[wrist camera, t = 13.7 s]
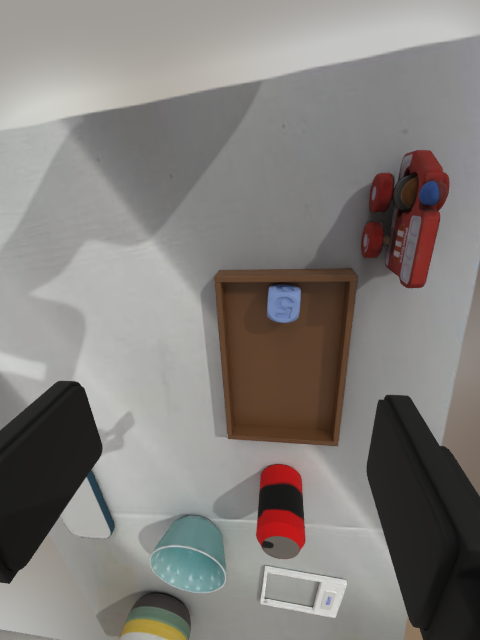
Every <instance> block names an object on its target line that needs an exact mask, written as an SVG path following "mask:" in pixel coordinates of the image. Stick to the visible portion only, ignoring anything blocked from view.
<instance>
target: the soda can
mask: <svg viewBox="0 0 480 640" xmlns="http://www.w3.org/2000/svg"><path fill="white" fill-rule="evenodd" d="M256 537H257V540H258V542H259V543H260V545H261V546H262V549H263V551H264V552H265V553H266V554H268V555H269V556H271V557H274V558H278V559H290V558H293V557H295V556H297V555H298V553H299V551H300V550H301V549H302V547H303V546H304V544H305V526H304V510H303V495H302V480H301V476H300V475H299V473H298V472H297V471H296V470H295V469H293V468H292V467H290V466H287V465H282V464H276V465H272V466H269V467H267V468H266V469H265V470H264V471H263V472H262V474H261V481H260V494H259V507H258V520H257V533H256Z"/></svg>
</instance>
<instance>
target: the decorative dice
mask: <svg viewBox="0 0 480 640" xmlns="http://www.w3.org/2000/svg"><path fill="white" fill-rule="evenodd" d="M300 299H301V290H300V288H299V287H297V286H295V285H291V284H274V285H271V286H270V287H269V292H268V305H267V317H268V318H269V319H271V320H273V321H275V322H281V323H289V322H293V321H295V320H296V319H298V317H299V311H300Z"/></svg>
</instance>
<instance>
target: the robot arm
mask: <svg viewBox="0 0 480 640" xmlns="http://www.w3.org/2000/svg"><path fill="white" fill-rule="evenodd" d="M101 453H102V443H101V440H100V436H99V433H98V430H97V427H96V424H95V421H94V417H93V414H92V411H91V408H90V405H89V401H88V398H87V395H86V392H85V389H84V388H83V387H82V386H81V385H80V384H79V383H78V382H75V381H58V382H57V383H55V384H54V385H53V386H52V387H50V388H49V389H48V390H47V391H46V392H45V393H43V394H42V395H41V396H40V397H39V398H38V399H36V400H35V401H34V402H33V403H32V404H31V405H29V406H28V407H27V408H26V409H25V410H24V411H23V412H21V413H20V414H19V415H18V416H17V417H16V418H14V419H13V420H12V421H11V422H10V423H9V424H7V425H6V426H5V427H4V428H3V429H2V430H0V582H1V583H8V584H10V582H11V581H12V580H13V578H14V577H15V575H16V574H17V572H18V571H19V570H20V569H22V568H24V567H25V566H26V565H27V563H28V562H29V561H30V559H31V558H32V556H33V555H34V553H35V552H36V550H37V549H38V547H39V546H40V544H41V543H42V542H43V540H44V539H45V537H46V536H47V534H48V533H49V531H50V530H51V528H52V527H53V525H54V524H55V522H56V521H57V520H58V518H59V517H60V515H61V514H62V512H63V511H64V509H65V508H66V506H67V505H68V503H69V502H70V500H71V499H72V497H73V496H74V494H75V493H76V492H77V490H78V489H79V487H80V486H81V484H82V483H83V481H84V480H85V478H86V477H87V475H88V474H89V472H90V471H91V469H92V468H93V467H94V465H95V464H96V462H97V461H98V459H99V458H100V456H101ZM367 476H368V480H369V484H370V487H371V491H372V494H373V498H374V501H375V504H376V508H377V511H378V515H379V518H380V522H381V525H382V528H383V532H384V535H385V539H386V542H387V545H388V549H389V552H390V556H391V559H392V563H393V566H394V569H395V573H396V576H397V580H398V583H399V586H400V590H401V593H402V597H403V600H404V604H405V607H406V610H407V614H408V617H409V620H410V622H411V624H412V625H413V627H416V628H420V631H421V634H422V637H423V640H480V497H479V495H478V493H477V492H476V490H475V489H474V487H473V486H472V484H471V482H470V481H469V479H468V478H467V476H466V475H465V473H464V471H463V470H462V468H461V467H460V465H459V464H458V462H457V460H456V459H455V458H454V456H453V454H452V453H451V452H450V451H449V449H447V448H446V447H444V446H439V444H438V443H437V441H436V439H435V438H434V436H433V434H432V433H431V431H430V429H429V428H428V426H427V424H426V423H425V421H424V419H423V418H422V416H421V415H420V413H419V411H418V410H417V408H416V406H415V405H414V403H413V401H412V400H411V398H410V397H409V396H403V395H386V396H385V398H384V400H379V401H378V404H377V410H376V415H375V421H374V427H373V433H372V438H371V444H370V450H369V455H368V461H367ZM0 640H59V639H53V638H47V637H42V636H35V635H30V634H24V633H18V632H12V631H6V630H0Z"/></svg>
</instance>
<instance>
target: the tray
mask: <svg viewBox="0 0 480 640" xmlns="http://www.w3.org/2000/svg"><path fill="white" fill-rule="evenodd" d="M214 278H215V290H216V302H217V314H218V326H219V338H220V350H221V362H222V374H223V386H224V398H225V410H226V422H227V434H228V439H238V440H253V441H268V442H283V443H298V444H313V445H328V446H338V441H339V433H340V424H341V416H342V407H343V398H344V390H345V381H346V373H347V364H348V355H349V347H350V338H351V329H352V321H353V312H354V304H355V295H356V286H357V278H358V275H357V274H356V273H355V272H354V270H353V269H276V270H219V271H218V273H217V274H216V275H215V277H214ZM274 284H291V285H295V286H297V287H299V288H300V290H301V299H300V311H299V317H298V319H296V320H295V321H293V322H289V323H281V322H275V321H273V320H271V319H269V318H268V317H267V305H268V292H269V287H270V286H271V285H274Z"/></svg>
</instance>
